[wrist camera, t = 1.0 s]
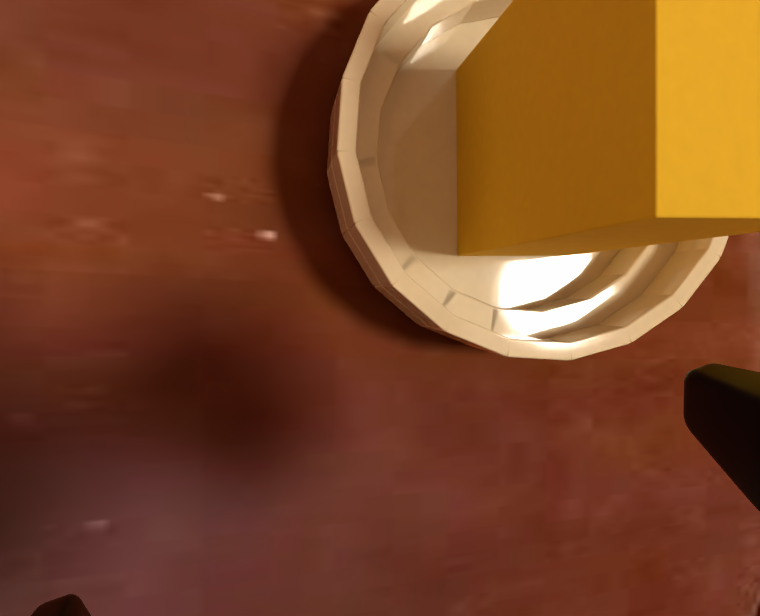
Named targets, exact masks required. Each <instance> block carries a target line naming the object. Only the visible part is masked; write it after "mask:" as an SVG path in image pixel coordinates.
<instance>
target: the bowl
mask: <svg viewBox="0 0 760 616" xmlns="http://www.w3.org/2000/svg"><path fill="white" fill-rule="evenodd" d="M512 1H513V0H379V1H378V2H377V3H376V4H375V5H374V6H373V7H372V8H371V10H370V12H369V13H368V15H367V17H366V20H365V22H364V25H363V27H362V30H361V32H360V34H359V37H358V39H357V42H356V44H355V47H354V49H353V52H352V54H351V56H350V59H349V61H348V64H347V66H346V69H345V71H344V73H343V76H342V79H341V82H340V85H339V89H338V92H337V95H336V98H335V101H334V105H333V108H332V112H331V120H330V134H329V148H328V162H327V173H328V174H327V177H328V182H329V186H330V190H331V194H332V198H333V202H334V206H335V210H336V214H337V218H338V222H339V226H340V231H341V233H342V236H343V238H344V239H345V241H346V243H347V244H348V246H349V247H350V249H351V251H352V252H353V254H354V256H355V257H356V259H357V261H358V262H359V264H360V265H361V267H362V269H363V270H364V272H365V274H366V275H367V277H368V279H369V280H370V282H371V283H372V285H373V286H374V287H375V288H376V289H377V290H378V291H379V292H380V293H381V294H383V295H384V296H385V297H386V298H387V299H388V300H390V301H391V302H392V303H393V304H394V305H395V306H397V307H398V308H399V309H400V310H401V311H402V312H404V313H405V314H406V315H407V316H408V317H409V318H411V319H412V320H413V321H414V322H415V323H416V324H418V325H420V326H421V327H424V328H426V329H429V330H431V331H434V332H436V333H438V334H441V335H443V336H446V337H448V338H451V339H453V340H456V341H458V342H461V343H463V344H465V345H468V346H471V347H474V348H478V349H481V350H485V351H488V352H491V353H495V354H499V355H502V356H506V357H517V358H535V359H552V360H574V359H577V358H581V357H584V356H588V355H591V354H595V353H598V352H602V351H605V350H609V349H612V348H616V347H619V346H623V345H626V344H629V343H630V342H633V341H635V340H636V339H637V338H639V337H640V336H642V335H643V334H645V333H646V332H648V331H649V330H650V329H652V328H653V327H655V326H656V325H658V324H659V323H661V322H662V321H663V320H665V319H666V318H668V317H669V316H671V315H672V314H674V313H675V312H677V311H678V310H679V309H681V307H683V306H684V305H685V304H686V302H687V301H688V300H689V298H690V297H691V296H692V294H693V293H694V292H695V290H696V289H697V288H698V287H699V285H700V284H701V283H702V281H703V280H704V279H705V277H706V276H707V275H708V274H709V272H710V271H711V270H712V268H713V267H714V266H715V264H716V263H717V262H718V261H719V259H720V257H721V255H722V253H723V250H724V247H725V245H726V242H727V239H728V237H729V236H722V237H714V238H706V239H698V240H689V241H681V242H673V243H665V244H657V245H649V246H641V247H632V248H624V249H616V250H608V251H600V252H592V253H584V254H576V255H567V256H458V226H457V129H456V70H457V68H458V67H459V66H460V65H461V64H462V62H463V61H464V60H465V59H466V57H467V56H468V55H469V54H470V53H471V51H472V50H473V49H474V48H475V46H476V45H477V44H478V43H479V42H480V40H481V39H482V38H483V37H484V36H485V34H486V33H487V32H488V31H489V29H490V28H491V27H492V26H493V25H494V23H495V22H496V21H497V20H498V18H499V17H500V16H501V15H502V14H503V12H504V11H505V10H506V9H507V7H508V6H509V5H510V4H511V3H512Z"/></svg>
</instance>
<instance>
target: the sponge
mask: <svg viewBox="0 0 760 616" xmlns="http://www.w3.org/2000/svg"><path fill="white" fill-rule="evenodd" d="M456 129H457V226H458V256H567V255H576V254H584V253H592V252H600V251H608V250H616V249H624V248H632V247H641V246H649V245H657V244H665V243H673V242H681V241H689V240H698V239H706V238H714V237H722V236H730V235H738V234H746V233H754V232H760V0H513V1H512V3H511V4H510V5H509V6H508V7H507V9H506V10H505V11H504V12H503V14H502V15H501V16H500V17H499V18H498V20H497V21H496V22H495V23H494V25H493V26H492V27H491V28H490V29H489V31H488V32H487V33H486V34H485V36H484V37H483V38H482V39H481V40H480V42H479V43H478V44H477V45H476V46H475V48H474V49H473V50H472V51H471V53H470V54H469V55H468V56H467V57H466V59H465V60H464V61H463V62H462V64H461V65H460V66H459V67H458V68H457V70H456Z"/></svg>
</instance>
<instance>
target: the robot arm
mask: <svg viewBox="0 0 760 616" xmlns="http://www.w3.org/2000/svg"><path fill="white" fill-rule="evenodd" d="M684 419H685V422H686V425H687V427H688V428H689V430H690V431H691V433H692V434H693V435H694V436H695V437H696V439H697V440H698V441H699V442H700V443H701V444H702V446H703V447H704V448H705V449H706V450H707V451H708V453H709V454H710V455H711V456H712V457H713V458H714V460H715V461H716V462H717V463H718V464H719V465H720V467H721V468H722V469H723V470H724V471H725V472H726V474H727V475H728V476H729V477H730V478H731V479H732V481H733V482H734V483H735V484H736V485H737V487H738V488H739V489H740V490H741V491H742V492H743V494H744V495H745V496H746V497H747V498H748V499H749V500H750V501H751V503H752V504H753V505H754V506H755V507H756V508H757V509H758V510H759V511H760V372H755V371H750V370H745V369H740V368H735V367H730V366H725V365H720V364H707V365H705V366H702V367H699V368H696V369H693V370H691V371H689V372H688V373H687V374H686V376H685V380H684ZM31 616H91V615H90V613H89V612H88V610H87V608H86V607H85V605H84V604H83V602H82V600H81V599H80V598H79V597H78V596H76V595H74V594H69V595H65V596H63V597H60V598H57V599H54V600H52V601H49V602H46V603H44V604H42V605H40V606H39V607H38V608H37V609H36V610H35V611H34V612H33V614H32V615H31Z"/></svg>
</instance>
